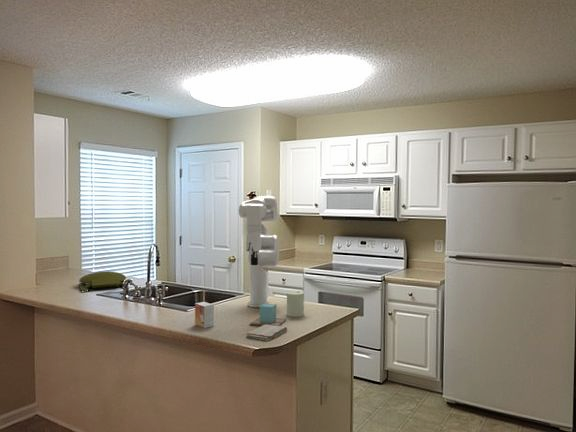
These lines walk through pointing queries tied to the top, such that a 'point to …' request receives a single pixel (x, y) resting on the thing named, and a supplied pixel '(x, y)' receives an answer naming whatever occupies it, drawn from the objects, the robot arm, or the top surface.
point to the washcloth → (266, 332)
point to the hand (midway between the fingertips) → (254, 264)
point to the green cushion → (101, 280)
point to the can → (295, 303)
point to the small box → (204, 314)
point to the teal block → (268, 313)
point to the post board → (276, 323)
